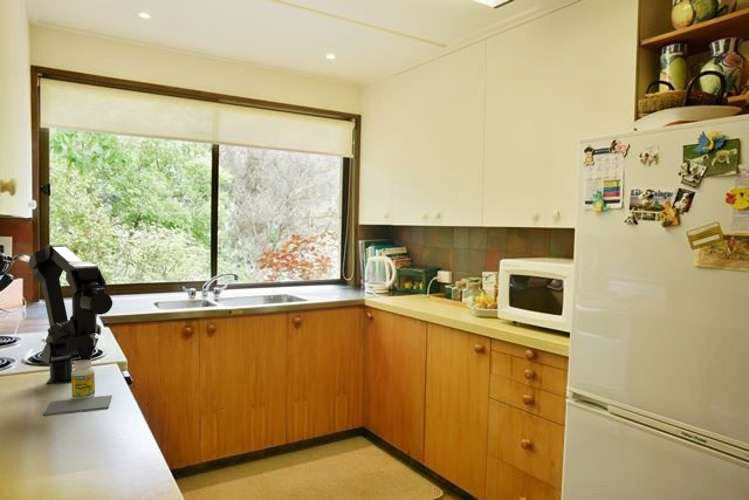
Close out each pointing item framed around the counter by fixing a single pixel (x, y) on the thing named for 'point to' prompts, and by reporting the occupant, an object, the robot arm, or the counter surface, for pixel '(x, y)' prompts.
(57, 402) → the mat
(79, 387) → the supplement bottle
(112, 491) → the counter surface
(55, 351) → the robot arm
